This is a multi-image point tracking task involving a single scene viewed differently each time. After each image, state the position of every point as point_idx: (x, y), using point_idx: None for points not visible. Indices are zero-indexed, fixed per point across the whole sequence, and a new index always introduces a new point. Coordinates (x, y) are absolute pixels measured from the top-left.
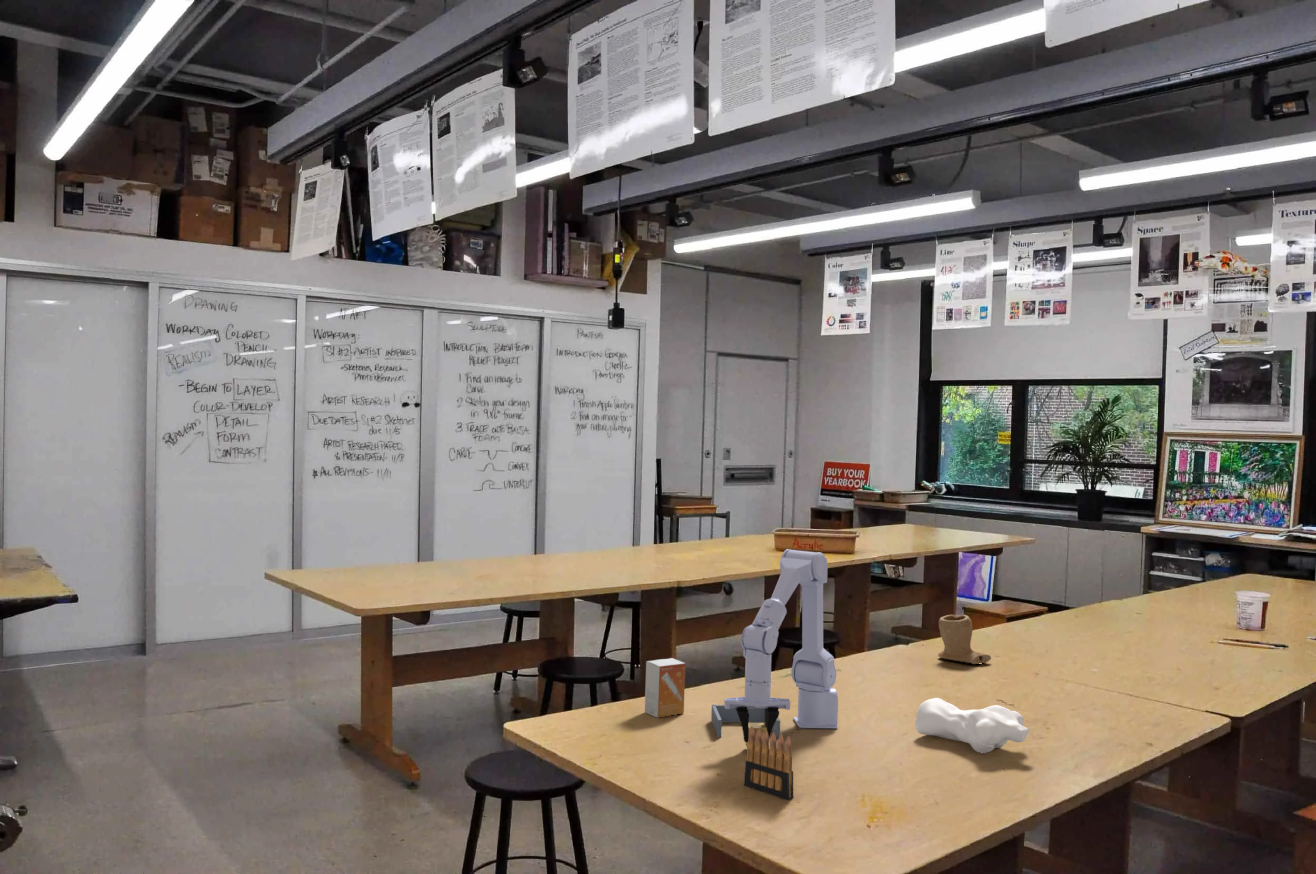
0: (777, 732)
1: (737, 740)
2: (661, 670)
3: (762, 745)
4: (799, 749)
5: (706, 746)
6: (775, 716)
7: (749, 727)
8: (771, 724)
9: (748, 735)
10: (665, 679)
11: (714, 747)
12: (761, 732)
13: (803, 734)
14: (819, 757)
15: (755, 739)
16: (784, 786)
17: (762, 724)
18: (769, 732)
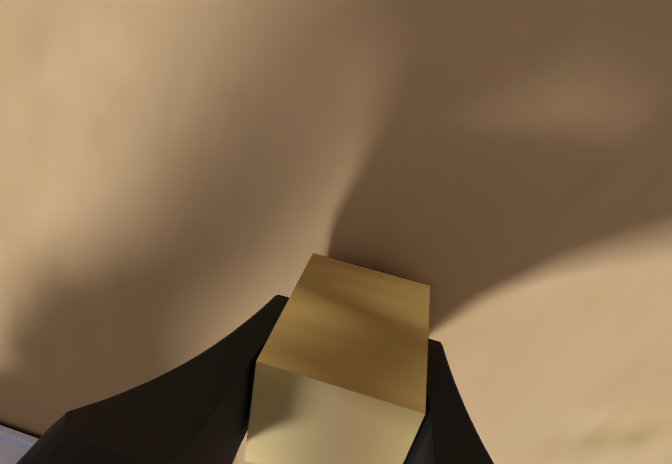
0: None
1: None
2: None
3: (330, 280)
4: (117, 261)
5: (614, 442)
6: (101, 422)
7: (412, 422)
8: (198, 373)
9: (423, 367)
10: None
11: (576, 417)
12: (315, 347)
13: (79, 406)
14: (21, 116)
15: (374, 322)
16: None
17: (266, 438)
18: (247, 331)
